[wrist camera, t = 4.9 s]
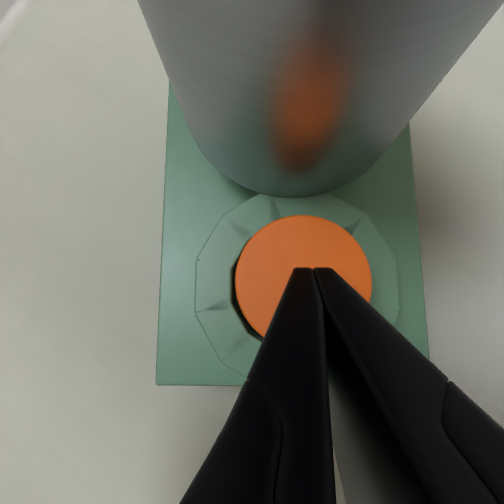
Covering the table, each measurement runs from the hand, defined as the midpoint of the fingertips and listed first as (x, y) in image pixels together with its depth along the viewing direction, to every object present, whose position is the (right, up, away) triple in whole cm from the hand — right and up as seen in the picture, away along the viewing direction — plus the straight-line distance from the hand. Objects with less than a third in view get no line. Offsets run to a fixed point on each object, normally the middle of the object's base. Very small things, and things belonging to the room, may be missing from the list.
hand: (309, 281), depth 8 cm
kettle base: (0, +2, +10) cm, 10 cm away
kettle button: (0, 0, +3) cm, 3 cm away
